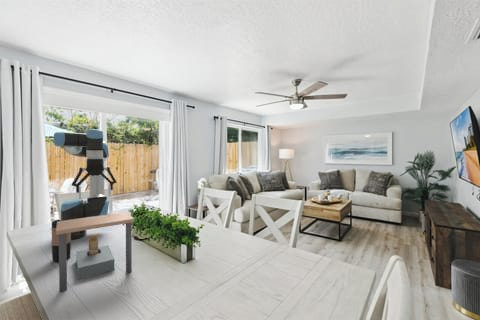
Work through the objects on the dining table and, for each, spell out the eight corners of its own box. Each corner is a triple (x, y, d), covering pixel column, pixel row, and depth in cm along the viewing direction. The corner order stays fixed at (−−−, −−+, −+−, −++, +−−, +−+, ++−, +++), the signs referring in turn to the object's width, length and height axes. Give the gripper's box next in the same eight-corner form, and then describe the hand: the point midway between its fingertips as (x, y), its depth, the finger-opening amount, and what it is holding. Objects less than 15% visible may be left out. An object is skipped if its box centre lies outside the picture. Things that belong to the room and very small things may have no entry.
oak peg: (88, 261, 113) (88, 234, 113) (98, 259, 116) (97, 232, 115) (89, 265, 110) (88, 236, 110) (98, 262, 113) (98, 235, 112)
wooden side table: (57, 276, 99) (57, 221, 99) (127, 259, 116) (127, 211, 116) (56, 293, 88) (55, 230, 87) (133, 271, 105) (133, 218, 104)
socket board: (76, 261, 114) (76, 251, 113) (108, 254, 122) (108, 245, 122) (78, 279, 98) (77, 268, 98) (114, 269, 106) (114, 259, 106)
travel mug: (60, 263, 111) (59, 223, 110) (47, 262, 112) (47, 222, 112) (74, 256, 118) (74, 219, 118) (62, 255, 120) (62, 218, 119)
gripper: (65, 158, 110) (66, 201, 112) (122, 158, 125) (122, 196, 127) (65, 158, 116) (66, 198, 117) (119, 157, 131) (119, 193, 133)
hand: (95, 197), depth 122 cm, fingers open, 13 cm apart
